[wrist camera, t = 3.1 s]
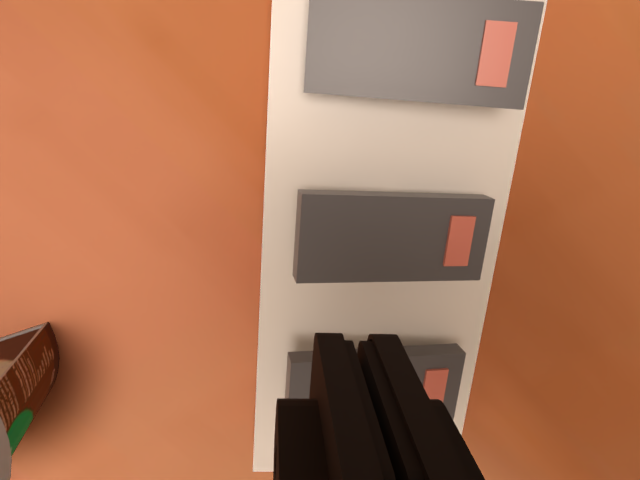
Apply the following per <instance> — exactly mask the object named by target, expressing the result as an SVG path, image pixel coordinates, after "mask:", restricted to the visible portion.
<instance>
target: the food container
mask: <svg viewBox="0 0 640 480" xmlns="http://www.w3.org/2000/svg"><path fill="white" fill-rule="evenodd" d="M58 367H59V352H58V345H57V342H56V338H55V335H54V333H53V330H52V328H51V326H50V324H49V322H47V323H44V324H40V325H37V326H34V327H31V328H28V329H25V330H22V331H19V332H16V333H13V334H10V335H7V336H4V337H1V338H0V480H10V477H11V462H12V457H11V456H12V454H13V453H14V451H15V449H16V447H17V446H18V444H19V442H20V441H21V439H22V437H23V436H24V434H25V432H26V431H27V429H28V427H29V425H30V424H31V422H32V420H33V419H34V417H35V415H36V414H37V412H38V410H39V409H40V407H41V405H42V403H43V402H44V400H45V398H46V397H47V395H48V393H49V392H50V390H51V388H52V386H53V384H54V382H55V380H56V376H57V373H58Z"/></svg>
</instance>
